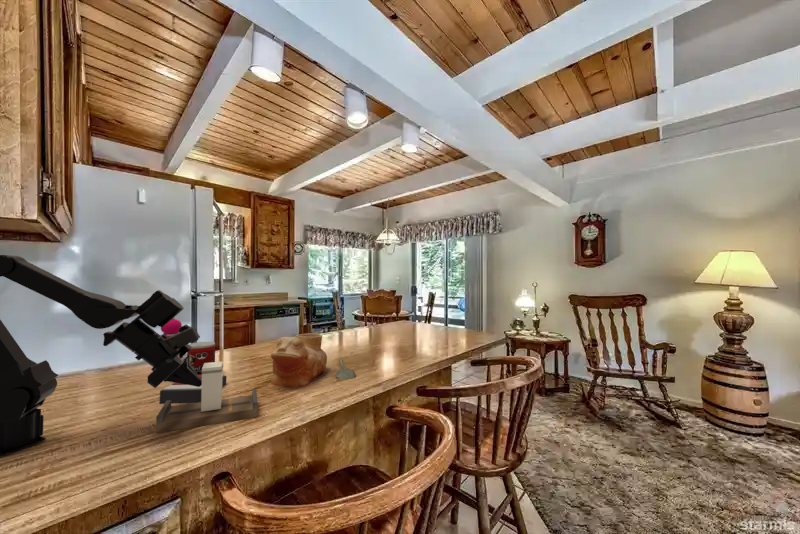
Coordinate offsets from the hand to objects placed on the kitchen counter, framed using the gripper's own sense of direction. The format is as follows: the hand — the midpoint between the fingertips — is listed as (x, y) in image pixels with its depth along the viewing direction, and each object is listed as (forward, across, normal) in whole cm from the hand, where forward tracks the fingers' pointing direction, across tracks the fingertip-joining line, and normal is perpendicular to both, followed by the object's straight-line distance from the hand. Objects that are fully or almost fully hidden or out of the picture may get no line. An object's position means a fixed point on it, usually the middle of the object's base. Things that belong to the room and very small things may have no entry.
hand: (201, 384), depth 79 cm
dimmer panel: (+7, 0, +4) cm, 8 cm away
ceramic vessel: (+24, +22, -12) cm, 35 cm away
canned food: (+3, +35, +8) cm, 36 cm away
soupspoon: (+36, +24, -23) cm, 49 cm away
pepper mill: (-4, +45, +15) cm, 48 cm away
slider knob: (+5, 0, +2) cm, 6 cm away
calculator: (+4, +20, +8) cm, 21 cm away
